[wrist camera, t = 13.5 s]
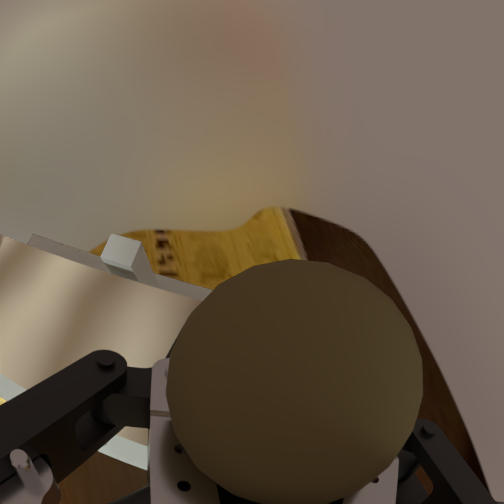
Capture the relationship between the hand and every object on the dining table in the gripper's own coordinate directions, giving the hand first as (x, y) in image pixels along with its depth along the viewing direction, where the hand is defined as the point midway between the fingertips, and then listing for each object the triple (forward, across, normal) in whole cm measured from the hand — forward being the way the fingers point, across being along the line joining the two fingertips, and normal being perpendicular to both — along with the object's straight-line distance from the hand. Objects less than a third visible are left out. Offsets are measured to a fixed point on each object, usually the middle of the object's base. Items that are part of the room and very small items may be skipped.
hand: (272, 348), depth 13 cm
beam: (+2, +9, +5) cm, 10 cm away
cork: (+1, 0, +4) cm, 4 cm away
